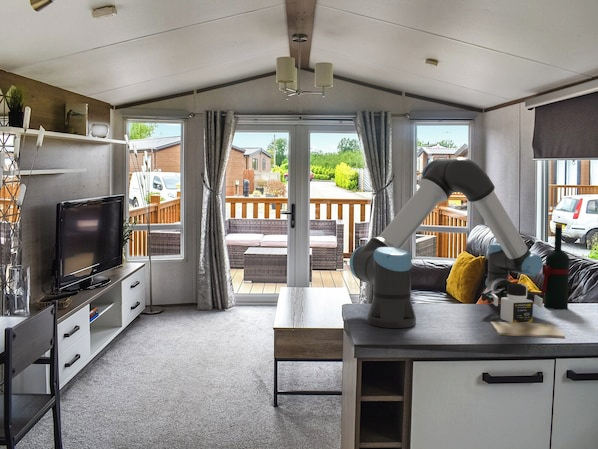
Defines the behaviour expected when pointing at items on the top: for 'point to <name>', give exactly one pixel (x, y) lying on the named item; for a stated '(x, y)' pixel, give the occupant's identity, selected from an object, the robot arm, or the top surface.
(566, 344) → the top surface
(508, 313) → the medicine bottle
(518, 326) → the cork mat
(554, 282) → the wine bottle
